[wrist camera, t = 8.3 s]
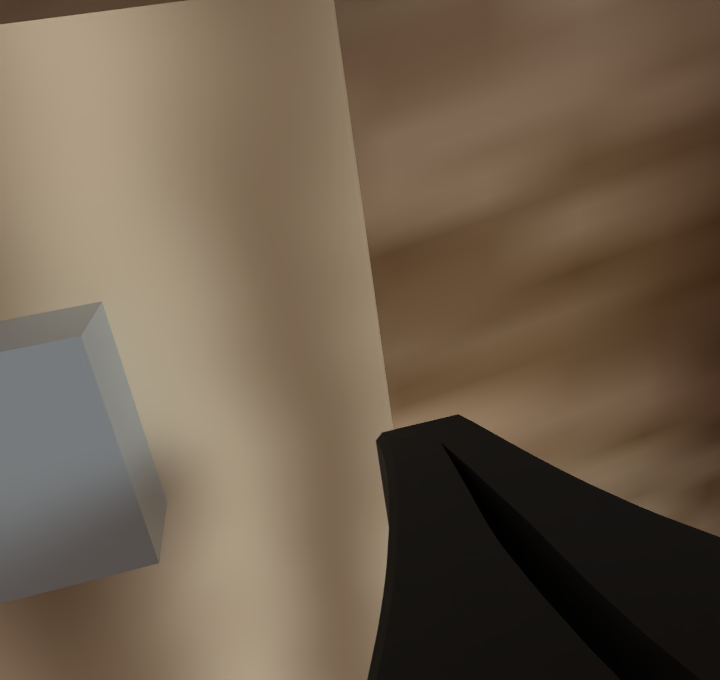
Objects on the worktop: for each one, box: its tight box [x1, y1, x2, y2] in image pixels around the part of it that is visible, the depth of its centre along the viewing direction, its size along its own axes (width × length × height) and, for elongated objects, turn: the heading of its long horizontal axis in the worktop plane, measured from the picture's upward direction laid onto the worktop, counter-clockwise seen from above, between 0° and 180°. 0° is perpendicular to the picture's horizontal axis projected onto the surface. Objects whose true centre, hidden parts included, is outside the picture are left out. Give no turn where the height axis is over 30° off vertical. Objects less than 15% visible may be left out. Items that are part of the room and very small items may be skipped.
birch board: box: [0, 0, 393, 680], centre depth 15 cm, size 16×21×3 cm
